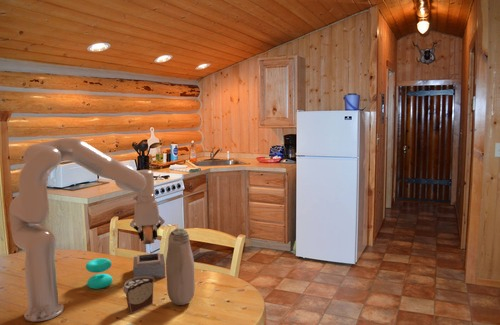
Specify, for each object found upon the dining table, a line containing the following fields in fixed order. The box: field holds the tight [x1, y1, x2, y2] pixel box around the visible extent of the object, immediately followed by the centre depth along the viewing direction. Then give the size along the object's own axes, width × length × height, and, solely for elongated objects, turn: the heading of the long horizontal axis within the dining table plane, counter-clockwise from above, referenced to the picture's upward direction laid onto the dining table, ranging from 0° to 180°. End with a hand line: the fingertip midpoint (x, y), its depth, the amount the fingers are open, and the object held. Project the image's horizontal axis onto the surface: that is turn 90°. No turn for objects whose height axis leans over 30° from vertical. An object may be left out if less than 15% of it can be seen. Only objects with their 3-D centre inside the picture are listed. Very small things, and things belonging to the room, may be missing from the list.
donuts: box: [85, 257, 114, 290], centre depth 170 cm, size 10×10×10 cm
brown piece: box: [122, 276, 156, 315], centre depth 151 cm, size 12×6×10 cm, turn 141°
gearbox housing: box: [132, 252, 166, 280], centre depth 181 cm, size 13×13×7 cm
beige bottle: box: [165, 228, 196, 306], centre depth 152 cm, size 10×10×28 cm
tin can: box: [141, 225, 155, 245], centre depth 179 cm, size 5×5×8 cm
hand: (148, 239), depth 180 cm, fingers closed on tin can, 5 cm apart
